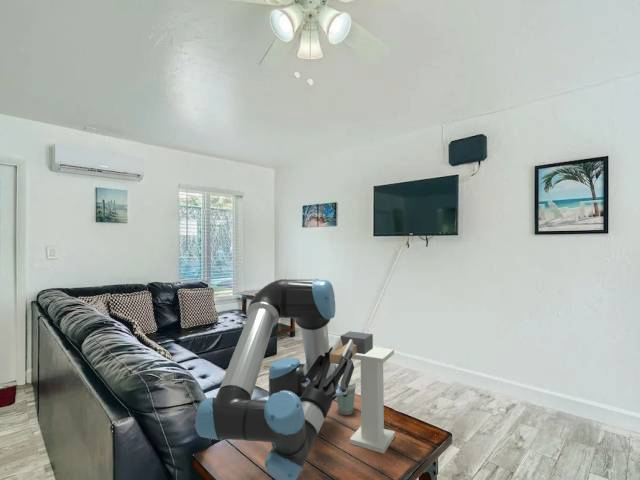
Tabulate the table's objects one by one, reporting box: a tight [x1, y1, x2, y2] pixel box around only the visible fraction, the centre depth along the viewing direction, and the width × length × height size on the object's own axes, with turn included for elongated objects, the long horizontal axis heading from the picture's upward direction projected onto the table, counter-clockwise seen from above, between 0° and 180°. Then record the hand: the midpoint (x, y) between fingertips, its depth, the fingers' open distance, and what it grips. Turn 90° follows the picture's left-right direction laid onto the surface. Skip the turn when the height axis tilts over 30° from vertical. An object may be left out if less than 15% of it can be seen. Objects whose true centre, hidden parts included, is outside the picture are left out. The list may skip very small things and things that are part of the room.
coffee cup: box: [336, 378, 357, 416], centre depth 138 cm, size 8×8×12 cm
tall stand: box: [349, 346, 396, 455], centre depth 117 cm, size 12×12×30 cm
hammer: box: [330, 330, 374, 365], centre depth 101 cm, size 19×8×4 cm, turn 151°
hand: (346, 342), depth 100 cm, fingers closed on hammer, 3 cm apart
